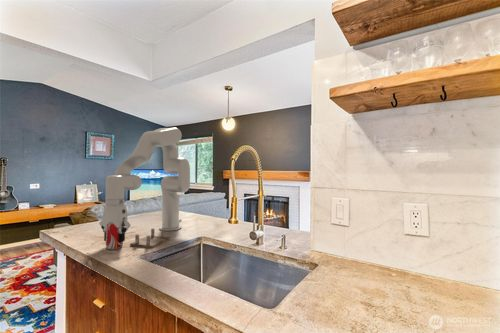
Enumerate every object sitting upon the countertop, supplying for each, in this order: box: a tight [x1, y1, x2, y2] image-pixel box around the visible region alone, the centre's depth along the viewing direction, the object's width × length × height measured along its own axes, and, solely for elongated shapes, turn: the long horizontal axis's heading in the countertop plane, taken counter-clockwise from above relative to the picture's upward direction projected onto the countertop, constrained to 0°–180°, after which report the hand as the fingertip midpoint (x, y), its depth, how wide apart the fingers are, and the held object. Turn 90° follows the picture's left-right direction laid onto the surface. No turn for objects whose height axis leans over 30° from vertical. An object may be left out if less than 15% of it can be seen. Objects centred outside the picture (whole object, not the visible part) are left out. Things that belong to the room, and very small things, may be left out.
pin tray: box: [129, 228, 170, 249], centre depth 121 cm, size 14×12×5 cm
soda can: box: [105, 223, 124, 251], centre depth 113 cm, size 7×7×12 cm
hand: (114, 240), depth 113 cm, fingers closed on soda can, 7 cm apart
